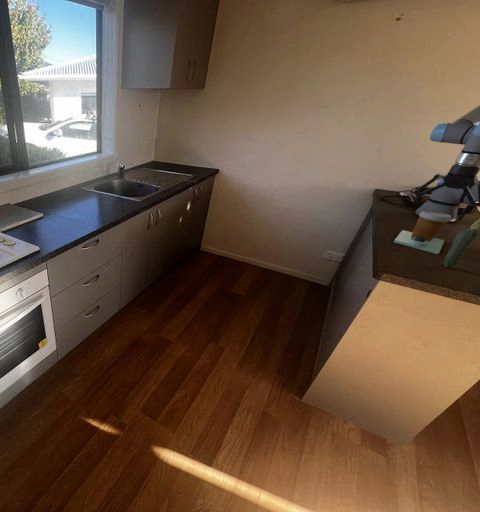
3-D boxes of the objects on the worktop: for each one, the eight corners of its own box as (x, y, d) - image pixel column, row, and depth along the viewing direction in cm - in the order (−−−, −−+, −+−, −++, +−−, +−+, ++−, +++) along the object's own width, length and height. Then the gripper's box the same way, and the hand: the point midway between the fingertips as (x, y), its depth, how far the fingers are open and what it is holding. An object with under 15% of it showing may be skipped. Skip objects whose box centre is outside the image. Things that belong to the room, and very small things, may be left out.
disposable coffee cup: (441, 244, 125) (459, 218, 119) (416, 242, 126) (432, 216, 120) (424, 235, 133) (440, 210, 127) (400, 233, 135) (415, 208, 129)
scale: (401, 232, 139) (404, 226, 137) (442, 242, 129) (447, 236, 128) (393, 242, 128) (396, 236, 127) (437, 254, 119) (442, 248, 118)
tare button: (414, 238, 126) (417, 235, 125) (424, 241, 124) (426, 237, 123) (413, 240, 124) (416, 237, 123) (423, 243, 122) (425, 239, 121)
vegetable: (449, 271, 108) (486, 221, 98) (434, 265, 111) (468, 217, 101) (455, 269, 109) (491, 220, 99) (439, 263, 113) (473, 215, 103)
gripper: (422, 160, 120) (395, 208, 131) (518, 172, 103) (479, 226, 114) (425, 158, 124) (399, 205, 135) (518, 169, 107) (480, 222, 118)
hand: (435, 215), depth 124 cm, fingers open, 13 cm apart
